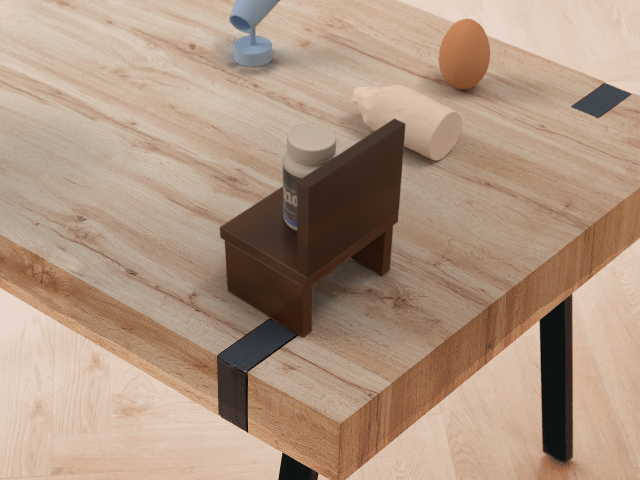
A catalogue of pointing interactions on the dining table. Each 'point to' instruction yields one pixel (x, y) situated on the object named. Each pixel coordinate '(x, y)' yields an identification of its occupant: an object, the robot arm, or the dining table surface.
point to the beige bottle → (411, 118)
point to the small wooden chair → (318, 229)
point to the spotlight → (251, 32)
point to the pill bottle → (304, 161)
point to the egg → (464, 54)
